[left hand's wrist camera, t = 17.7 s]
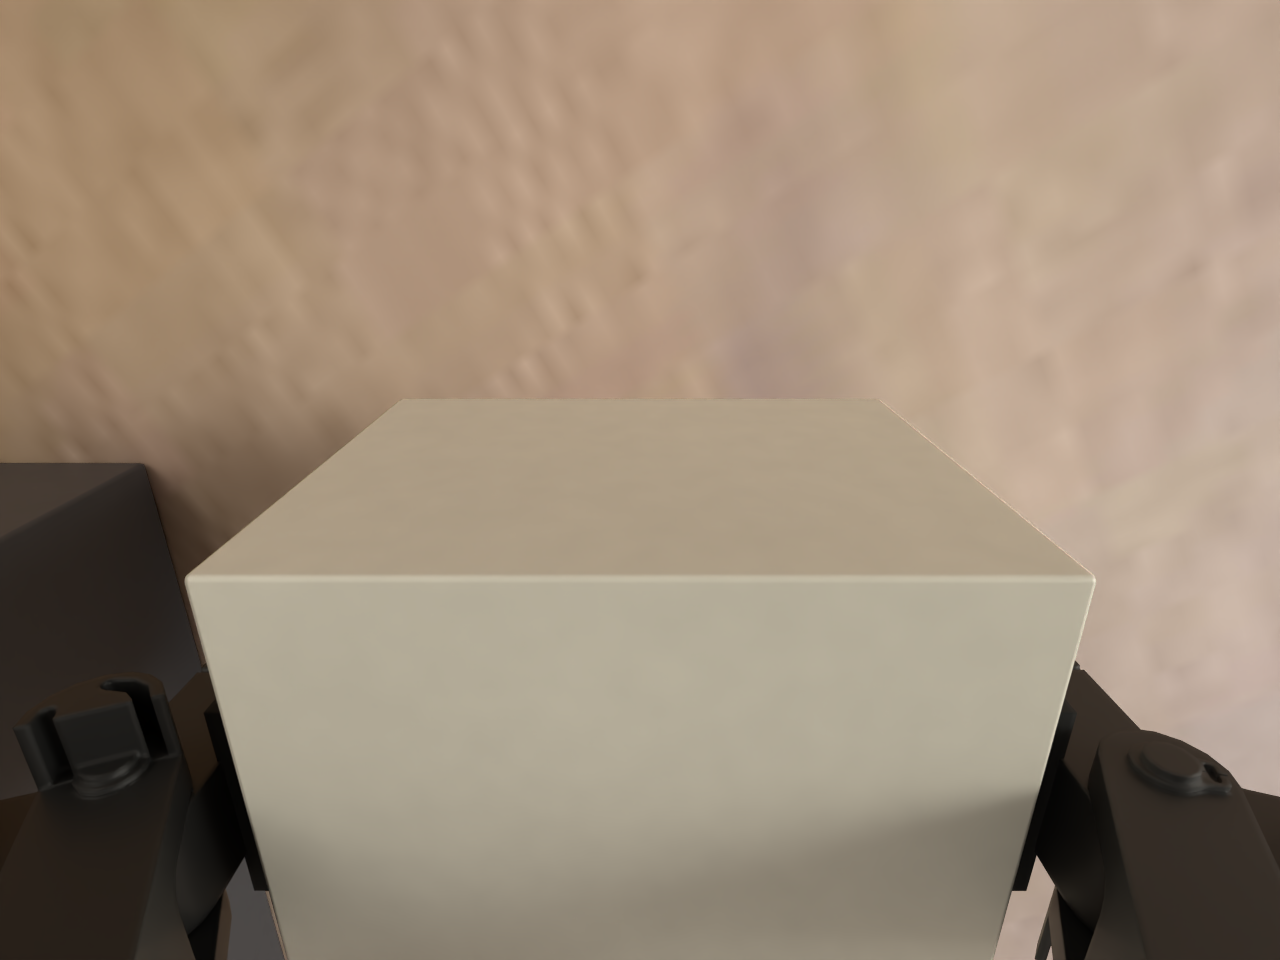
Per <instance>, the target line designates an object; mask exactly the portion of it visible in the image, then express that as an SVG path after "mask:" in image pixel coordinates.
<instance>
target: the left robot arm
mask: <svg viewBox="0 0 1280 960" xmlns="http://www.w3.org/2000/svg"><path fill="white" fill-rule="evenodd" d="M13 731H14V733H15V735H16V738H17V740H18V743H19V745H20V748H21V750H22V752H23V755H24V757H25V760H26V762H27V764H28V767H29V769H30V772H31V774H32V776H33V779H34V781H35V784H36V786H37V788H38V791H37V792H35V793H30V794H26V795H21V796H17V797H12V798H7V799H3V800H0V960H227V956H228V947H229V938H230V929H231V919H232V914H231V908H230V902H229V898H228V895H227V891H226V887H227V885H228V884H229V882H230V880H231V879H232V877H233V875H234V874H235V872H236V871H237V869H238V867H239V866H240V864H241V862H242V861H243V859H244V857H245V860H246V864H247V867H248V871H249V874H250V878H251V881H252V885H253V888H254V891H269V890H268V886H267V882H266V879H265V875H264V872H263V868H262V864H261V861H260V857H259V853H258V850H257V846H256V842H255V839H254V835H253V831H252V828H251V824H250V820H249V817H248V813H247V809H246V806H245V802H244V798H243V795H242V791H241V787H240V784H239V780H238V776H237V773H236V769H235V765H234V762H233V758H232V755H231V751H230V747H229V744H228V740H227V736H226V733H225V729H224V725H223V722H222V718H221V714H220V711H219V707H218V703H217V700H216V696H215V692H214V689H213V685H212V681H211V678H210V674H209V670H208V667H207V663H206V664H205V665H204V666H203V667H202V670H201V672H197V673H196V674H195V675H194V676H193V677H192V678H191V679H190V681H189V682H188V683H187V684H186V685H185V686H184V687H183V688H182V689H181V690H180V691H179V692H178V693H177V694H176V695H175V697H174V698H173V699H172V700H171V701H170V702H168V699H167V696H166V692H165V689H164V686H163V683H162V681H160V680H159V679H157V678H156V677H154V676H153V675H152V674H146V673H138V672H124V673H116V674H108V675H103V676H100V677H96V678H93V679H90V680H86V681H83V682H79V683H77V684H74V685H72V686H70V687H68V688H66V689H64V690H61V691H59V692H57V693H55V694H53V695H51V696H49V697H47V698H46V699H45V700H43V701H42V702H40V703H39V704H37V705H36V706H34V707H33V708H31V709H30V710H28V711H27V712H26V713H25V714H24V715H23V717H22V718H21V719H20V720H19V721H18V722H17V723H16V725H15V726H14V727H13ZM1036 855H1037V856H1038V858H1039V859H1040V861H1041V863H1042V864H1043V866H1044V868H1045V869H1046V871H1047V873H1048V874H1049V876H1050V878H1051V879H1052V881H1053V883H1054V884H1055V888H1054V891H1053V895H1052V898H1051V901H1050V904H1049V908H1048V911H1047V914H1046V917H1045V921H1044V924H1043V927H1042V930H1041V934H1040V937H1039V940H1038V944H1037V949H1036V955H1035V959H1036V960H1046V959H1047V956H1048V953H1049V949H1050V946H1052V954H1053V960H1280V797H1278V796H1273V795H1269V794H1264V793H1260V792H1255V791H1251V790H1246V789H1243V788H1241V787H1240V785H1239V784H1238V783H1237V781H1236V780H1235V779H1234V777H1233V776H1232V775H1231V773H1230V772H1229V771H1228V770H1227V769H1225V768H1224V767H1223V766H1222V765H1220V764H1219V763H1218V762H1217V761H1215V760H1214V759H1213V758H1211V757H1210V756H1209V755H1208V754H1206V753H1204V752H1202V751H1200V750H1198V749H1196V748H1195V747H1193V746H1191V745H1189V744H1187V743H1185V742H1183V741H1181V740H1178V739H1175V738H1172V737H1169V736H1166V735H1163V734H1160V733H1157V732H1153V731H1146V730H1140V729H1139V727H1138V726H1137V725H1136V724H1135V723H1134V722H1133V721H1132V720H1131V719H1130V718H1129V717H1128V716H1127V715H1126V714H1125V713H1124V712H1123V711H1122V709H1121V708H1120V707H1119V706H1118V705H1117V704H1116V703H1115V702H1114V701H1113V700H1112V699H1111V698H1110V697H1109V696H1108V695H1107V694H1106V693H1105V692H1104V690H1103V689H1102V688H1101V687H1100V686H1099V685H1098V684H1097V683H1096V682H1095V681H1094V680H1093V679H1092V678H1091V677H1090V676H1089V675H1088V674H1087V673H1086V671H1085V670H1080V665H1079V664H1078V663H1077V662H1076V661H1075V662H1074V665H1073V669H1072V673H1071V676H1070V680H1069V684H1068V687H1067V691H1066V695H1065V698H1064V702H1063V705H1062V709H1061V713H1060V716H1059V720H1058V724H1057V727H1056V731H1055V735H1054V738H1053V742H1052V746H1051V749H1050V753H1049V757H1048V760H1047V764H1046V768H1045V771H1044V775H1043V779H1042V782H1041V786H1040V790H1039V793H1038V797H1037V800H1036V804H1035V808H1034V811H1033V815H1032V819H1031V822H1030V826H1029V830H1028V833H1027V837H1026V841H1025V844H1024V848H1023V852H1022V855H1021V859H1020V863H1019V866H1018V870H1017V874H1016V877H1015V881H1014V885H1013V888H1012V891H1026V890H1027V887H1028V883H1029V880H1030V876H1031V873H1032V869H1033V866H1034V862H1035V859H1036Z"/></svg>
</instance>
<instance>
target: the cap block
mask: <svg viewBox="0 0 1280 960" xmlns="http://www.w3.org/2000/svg"><path fill="white" fill-rule="evenodd" d="M184 583H185V586H186V590H187V594H188V597H189V601H190V605H191V608H192V612H193V616H194V619H195V623H196V627H197V630H198V634H199V638H200V641H201V645H202V648H203V652H204V656H205V659H206V663H207V667H208V670H209V674H210V678H211V681H212V685H213V689H214V692H215V696H216V700H217V703H218V707H219V711H220V714H221V718H222V722H223V725H224V729H225V733H226V736H227V740H228V744H229V747H230V751H231V755H232V758H233V762H234V765H235V769H236V773H237V776H238V780H239V784H240V787H241V791H242V795H243V798H244V802H245V806H246V809H247V813H248V817H249V820H250V824H251V828H252V831H253V835H254V839H255V842H256V846H257V850H258V853H259V857H260V861H261V864H262V868H263V872H264V875H265V879H266V882H267V886H268V890H269V893H270V897H271V901H272V904H273V908H274V912H275V915H276V919H277V923H278V926H279V930H280V934H281V937H282V941H283V945H284V948H285V952H286V956H287V959H288V960H993V958H994V954H995V950H996V947H997V943H998V939H999V936H1000V932H1001V928H1002V925H1003V921H1004V917H1005V914H1006V910H1007V906H1008V903H1009V899H1010V895H1011V892H1012V888H1013V885H1014V881H1015V877H1016V874H1017V870H1018V866H1019V863H1020V859H1021V855H1022V852H1023V848H1024V844H1025V841H1026V837H1027V833H1028V830H1029V826H1030V822H1031V819H1032V815H1033V811H1034V808H1035V804H1036V800H1037V797H1038V793H1039V790H1040V786H1041V782H1042V779H1043V775H1044V771H1045V768H1046V764H1047V760H1048V757H1049V753H1050V749H1051V746H1052V742H1053V738H1054V735H1055V731H1056V727H1057V724H1058V720H1059V716H1060V713H1061V709H1062V705H1063V702H1064V698H1065V695H1066V691H1067V687H1068V684H1069V680H1070V676H1071V673H1072V669H1073V665H1074V662H1075V658H1076V654H1077V651H1078V647H1079V643H1080V640H1081V636H1082V632H1083V629H1084V625H1085V621H1086V618H1087V614H1088V611H1089V607H1090V603H1091V600H1092V596H1093V592H1094V589H1095V585H1096V578H1095V576H1094V575H1093V574H1092V573H1091V572H1089V571H1088V570H1087V569H1086V568H1084V567H1083V566H1082V565H1081V564H1080V563H1078V562H1077V561H1076V560H1075V559H1074V558H1072V557H1071V556H1070V555H1069V554H1067V553H1066V552H1065V551H1064V550H1063V549H1061V548H1060V547H1059V546H1058V545H1056V544H1055V543H1054V542H1053V541H1052V540H1050V539H1049V538H1048V537H1047V536H1045V535H1044V534H1043V533H1042V532H1041V531H1039V530H1038V529H1037V528H1036V527H1035V526H1033V525H1032V524H1031V523H1030V522H1028V521H1027V520H1026V519H1025V518H1024V517H1022V516H1021V515H1020V514H1019V513H1017V512H1016V511H1015V510H1014V509H1013V508H1011V507H1010V506H1009V505H1008V504H1007V503H1005V502H1004V501H1003V500H1002V499H1000V498H999V497H998V496H997V495H996V494H994V493H993V492H992V491H991V490H989V489H988V488H987V487H986V486H985V485H983V484H982V483H981V482H980V481H979V480H977V479H976V478H975V477H974V476H972V475H971V474H970V473H969V472H968V471H966V470H965V469H964V468H963V467H961V466H960V465H959V464H958V463H957V462H955V461H954V460H953V459H952V458H951V457H949V456H948V455H947V454H946V453H944V452H943V451H942V450H941V449H940V448H938V447H937V446H936V445H935V444H933V443H932V442H931V441H930V440H929V439H927V438H926V437H925V436H924V435H922V434H921V433H920V432H919V431H918V430H916V429H915V428H914V427H913V426H912V425H910V424H909V423H908V422H907V421H905V420H904V419H903V418H902V417H901V416H899V415H898V414H897V413H896V412H894V411H893V410H892V409H891V408H890V407H888V406H887V405H886V404H885V403H884V402H882V401H881V400H879V399H401V400H399V401H398V402H397V403H396V404H395V405H393V406H392V407H391V408H390V409H388V410H387V411H386V412H385V413H384V414H382V415H381V416H380V417H379V418H378V419H376V420H375V421H374V422H373V423H371V424H370V425H369V426H368V427H367V428H365V429H364V430H363V431H362V432H360V433H359V434H358V435H357V436H356V437H354V438H353V439H352V440H351V441H349V442H348V443H347V444H346V445H345V446H343V447H342V448H341V449H340V450H339V451H337V452H336V453H335V454H334V455H332V456H331V457H330V458H329V459H328V460H326V461H325V462H324V463H323V464H321V465H320V466H319V467H318V468H317V469H315V470H314V471H313V472H312V473H310V474H309V475H308V476H307V477H306V478H304V479H303V480H302V481H301V482H300V483H298V484H297V485H296V486H295V487H293V488H292V489H291V490H290V491H289V492H287V493H286V494H285V495H284V496H282V497H281V498H280V499H279V500H278V501H276V502H275V503H274V504H273V505H271V506H270V507H269V508H268V509H267V510H265V511H264V512H263V513H262V514H261V515H259V516H258V517H257V518H256V519H254V520H253V521H252V522H251V523H250V524H248V525H247V526H246V527H245V528H243V529H242V530H241V531H240V532H239V533H237V534H236V535H235V536H234V537H233V538H231V539H230V540H229V541H228V542H226V543H225V544H224V545H223V546H222V547H220V548H219V549H218V550H217V551H215V552H214V553H213V554H212V555H211V556H209V557H208V558H207V559H206V560H204V561H203V562H202V563H201V564H200V565H198V566H197V567H196V568H195V569H194V570H192V571H191V572H190V573H189V574H187V575H186V577H185V582H184Z"/></svg>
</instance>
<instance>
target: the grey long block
mask: <svg viewBox="0 0 1280 960" xmlns="http://www.w3.org/2000/svg"><path fill="white" fill-rule="evenodd" d="M201 670H202V666H201V663H200V659H199V656H198V652H197V649H196V645H195V642H194V638H193V634H192V631H191V627H190V624H189V620H188V617H187V613H186V610H185V606H184V603H183V599H182V596H181V592H180V589H179V585H178V581H177V578H176V574H175V571H174V567H173V564H172V560H171V557H170V553H169V550H168V546H167V543H166V539H165V536H164V532H163V529H162V525H161V521H160V518H159V514H158V511H157V507H156V504H155V500H154V497H153V493H152V490H151V486H150V483H149V479H148V476H147V472H146V468H145V466H144V465H143V464H141V463H0V800H3V799H7V798H12V797H17V796H21V795H26V794H30V793H35V792H37V791H38V788H37V786H36V784H35V781H34V779H33V776H32V774H31V772H30V769H29V767H28V764H27V762H26V760H25V757H24V755H23V752H22V750H21V748H20V745H19V743H18V740H17V738H16V735H15V733H14V731H13V727H14V726H15V725H16V723H17V722H18V721H19V720H20V719H21V718H22V717H23V715H24V714H25V713H26V712H27V711H28V710H30V709H31V708H33V707H34V706H36V705H37V704H39V703H40V702H42V701H43V700H45V699H46V698H47V697H49V696H51V695H53V694H55V693H57V692H59V691H61V690H64V689H66V688H68V687H70V686H72V685H74V684H77V683H79V682H83V681H86V680H90V679H93V678H96V677H100V676H103V675H108V674H116V673H124V672H138V673H146V674H152V675H153V676H154V677H156V678H157V679H159V680H160V681H162V683H163V686H164V689H165V692H166V696H167V699H168V702H170V701H171V700H172V699H173V698H174V697H175V695H176V694H177V693H178V692H179V691H180V690H181V689H182V688H183V687H184V686H185V685H186V684H187V683H188V682H189V681H190V679H191V678H192V677H193V676H194V675H195V674H196V673H197V672H201ZM226 891H227V895H228V898H229V902H230V908H231V914H232V919H231V929H230V938H229V947H228V956H227V960H285V959H284V956H283V952H282V949H281V945H280V942H279V938H278V935H277V931H276V928H275V924H274V921H273V917H272V913H271V910H270V906H269V903H268V899H267V896H266V892H265V891H254V888H253V885H252V881H251V878H250V874H249V871H248V867H247V864H246V860H245V857H244V859H243V861H242V862H241V864H240V866H239V867H238V869H237V871H236V872H235V874H234V875H233V877H232V879H231V880H230V882H229V884H228V885H227V887H226Z"/></svg>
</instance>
